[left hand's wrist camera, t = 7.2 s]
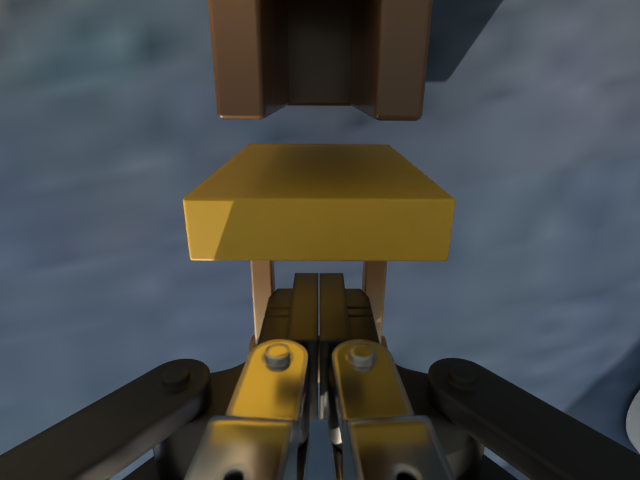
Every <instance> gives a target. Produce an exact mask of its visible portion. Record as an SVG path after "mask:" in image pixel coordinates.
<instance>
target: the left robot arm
mask: <svg viewBox="0 0 640 480" xmlns="http://www.w3.org/2000/svg"><path fill="white" fill-rule="evenodd" d="M309 419H318V273H295V277H294V284H293V289H277V290H276V291H275V292H274V293H273V294H272V295H271V296H270V297H269V299H268V303H267V308H266V311H265V317H264V319H263V323H262V327H261V331H260V335H259V340H258V344H257V346H256V347H255V348H253V349H252V350H251V352H250V353H249V355H248V357H247V360H246V362H244V363H243V364H241V365H239V366H237V367H234V368H231V369H228V370H224V371H219V372H215V373H210V370H209V368H208V367H207V365H205V364H204V363H203V362H201V361H198V360H194V359H179V360H173V361H170V362H167V363H164V364H162V365H160V366H158V367H156V368H155V369H153V370H151V371H149V372H147V373H146V374H144V375H142V376H140V377H139V378H137V379H135V380H133V381H132V382H130V383H128V384H126V385H124V386H123V387H121V388H119V389H117V390H116V391H114V392H112V393H110V394H108V395H107V396H105V397H103V398H101V399H100V400H98V401H96V402H94V403H92V404H91V405H89V406H87V407H85V408H84V409H82V410H80V411H78V412H77V413H75V414H73V415H71V416H69V417H68V418H66V419H64V420H62V421H61V422H59V423H57V424H55V425H53V426H52V427H50V428H48V429H46V430H45V431H43V432H41V433H39V434H37V435H36V436H34V437H32V438H30V439H29V440H27V441H25V442H23V443H22V444H20V445H18V446H16V447H14V448H13V449H11V450H9V451H7V452H6V453H4V454H2V455H0V480H109V479H110V478H112V477H113V476H114V475H116V474H117V473H119V472H120V471H121V470H123V469H124V468H125V467H127V466H128V465H130V464H131V463H132V462H134V461H135V460H137V459H138V458H139V457H141V456H142V455H144V454H145V453H146V452H148V451H149V450H150V449H152V448H153V453H154V456H153V457H152V458H151V459H149V460H148V461H147V462H145V463H144V464H143V465H141V466H140V467H138V468H137V469H136V470H134V471H133V472H132V473H130V474H129V475H128V476H126V477H125V478H124V479H122V480H306V472H307V463H308V455H309ZM320 419H328V433H329V437H330V439H331V455H332V463H333V472H334V480H518V479H516V478H515V477H514V476H512V475H511V474H510V473H508V472H507V471H506V470H504V469H503V468H502V467H500V466H499V465H498V464H496V463H495V462H493V461H492V460H491V459H489V458H488V457H487V456H485V455H484V454H483V453H484V448H485V447H487V448H488V449H490V450H491V451H492V452H494V453H495V454H496V455H498V456H499V457H501V458H502V459H503V460H505V461H506V462H508V463H509V464H510V465H512V466H513V467H515V468H516V469H517V470H519V471H520V472H521V473H523V474H524V475H526V476H527V477H528V478H530V479H531V480H640V455H638V454H636V453H634V452H633V451H631V450H629V449H627V448H626V447H624V446H622V445H620V444H619V443H617V442H615V441H613V440H611V439H610V438H608V437H606V436H604V435H603V434H601V433H599V432H597V431H595V430H594V429H592V428H590V427H588V426H587V425H585V424H583V423H581V422H579V421H578V420H576V419H574V418H572V417H571V416H569V415H567V414H565V413H564V412H562V411H560V410H558V409H556V408H555V407H553V406H551V405H549V404H548V403H546V402H544V401H542V400H540V399H539V398H537V397H535V396H533V395H532V394H530V393H528V392H526V391H524V390H523V389H521V388H519V387H517V386H516V385H514V384H512V383H510V382H508V381H507V380H505V379H503V378H501V377H500V376H498V375H496V374H494V373H493V372H491V371H489V370H487V369H485V368H484V367H482V366H480V365H478V364H476V363H474V362H471V361H468V360H465V359H459V358H446V359H441V360H438V361H436V362H435V363H433V364H432V365H431V367H430V368H429V372H428V374H426V373H422V372H417V371H413V370H409V369H405V368H403V367H400V366H398V365H396V364H395V362H394V360H393V357H392V355H391V353H390V352H389V350H388V349H387V348H385V347H384V346H383V345H381V344H380V342H379V338H378V334H377V329H376V325H375V321H374V317H373V312H372V309H371V304H370V300H369V297H368V296H367V295H366V294H365V293H364V292H363V291H362V290H361V289H345V286H344V278H343V273H320Z"/></svg>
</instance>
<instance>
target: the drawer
mask: <svg viewBox="0 0 640 480" xmlns="http://www.w3.org/2000/svg"><path fill="white" fill-rule="evenodd" d="M432 5H433V0H208V8H209V20H210V32H211V44H212V56H213V68H214V79H215V91H216V103H217V114H218V116H219V118H221V119H223V120H261V119H263V118H265V117H267V116H269V115H270V114H272V113H274V112H276V111H277V110H279V109H281V108H283V107H285V106H286V105H322V106H353V107H355V108H357V109H359V110H361V111H362V112H364V113H366V114H368V115H370V116H371V117H373V118H375V119H377V120H393V121H416V120H419V119H420V118H421V116H422V110H423V100H424V89H425V79H426V68H427V57H428V47H429V36H430V26H431V15H432ZM183 204H184V213H185V221H186V229H187V237H188V245H189V253H190V258H191V260H250V264H251V280H252V295H253V311H254V327H255V336H252V338H251V341H250V345H249V352H248V355H249V353H250V352H251V350H252V349H253V348H255V347H256V346H257V344H258V340H259V335H260V331H261V327H262V323H263V319H264V317H265V311H266V308H267V303H268V299H269V297H270V296H271V295H272V294H273V293H274V292H275V276H274V261H363V280H362V291H363V292H364V293H365V294H366V295H367V296H368V297H369V300H370V304H371V309H372V312H373V317H374V321H375V325H376V329H377V334H378V338H379V342H380V344H381V345H383V346H384V347H385V348H387V343H386V339H385V337H384V336H382V323H383V309H384V296H385V282H386V268H387V261H447V259H448V253H449V246H450V238H451V231H452V223H453V216H454V208H455V199H454V198H453V197H452V196H450V195H449V194H448V193H447V192H446V191H444V190H443V189H442V188H441V187H439V186H438V185H437V184H436V183H435V182H433V181H432V180H431V179H430V178H428V177H427V176H426V175H425V174H424V173H422V172H421V171H420V170H419V169H417V168H416V167H415V166H414V165H413V164H411V163H410V162H409V161H408V160H407V159H405V158H404V157H403V156H402V155H400V154H399V153H398V152H397V151H396V150H394V149H393V148H392V147H391V146H389V145H359V144H249V145H248V146H246V147H245V148H244V149H243V150H241V151H240V152H239V153H238V154H237V155H235V156H234V157H233V158H232V159H231V160H229V161H228V162H227V163H226V164H224V165H223V166H222V167H221V168H220V169H218V170H217V171H216V172H215V173H213V174H212V175H211V176H210V177H209V178H207V179H206V180H205V181H204V182H202V183H201V184H200V185H199V186H198V187H196V188H195V189H194V190H193V191H191V192H190V193H189V194H188V195H187V196H185V197H184V199H183ZM387 349H388V348H387ZM318 383H320V336H318Z"/></svg>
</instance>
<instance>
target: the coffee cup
mask: <svg viewBox="0 0 640 480" xmlns="http://www.w3.org/2000/svg"><path fill="white" fill-rule="evenodd" d="M626 430H627V434H628V437H629V439H630V441H631V443H632V444H633V445H634V447H635V448H636V449H637V451H638V452H639V453H640V390H639V392H638V393H637V394H636V396H635V397H634V399H633V401H632V403H631V405H630V407H629V410H628V414H627V418H626Z"/></svg>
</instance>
